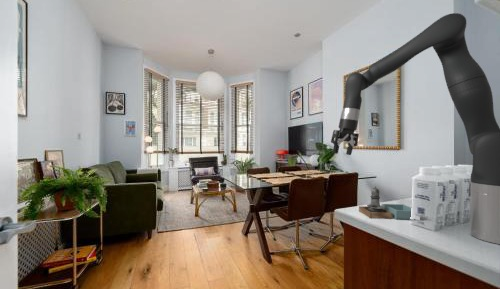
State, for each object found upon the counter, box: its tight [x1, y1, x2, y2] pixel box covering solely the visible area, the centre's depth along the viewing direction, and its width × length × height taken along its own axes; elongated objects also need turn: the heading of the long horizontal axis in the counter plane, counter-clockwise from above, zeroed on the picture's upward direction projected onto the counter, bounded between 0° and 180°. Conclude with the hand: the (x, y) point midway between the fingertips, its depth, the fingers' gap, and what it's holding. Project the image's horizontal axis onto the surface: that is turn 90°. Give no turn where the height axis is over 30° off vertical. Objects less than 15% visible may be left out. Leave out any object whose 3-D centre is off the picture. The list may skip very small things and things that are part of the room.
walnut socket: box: [358, 205, 394, 220], centre depth 86 cm, size 9×9×2 cm
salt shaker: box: [366, 186, 383, 213], centre depth 86 cm, size 6×6×12 cm
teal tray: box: [380, 203, 412, 221], centre depth 86 cm, size 10×10×4 cm
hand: (342, 154), depth 95 cm, fingers open, 8 cm apart
